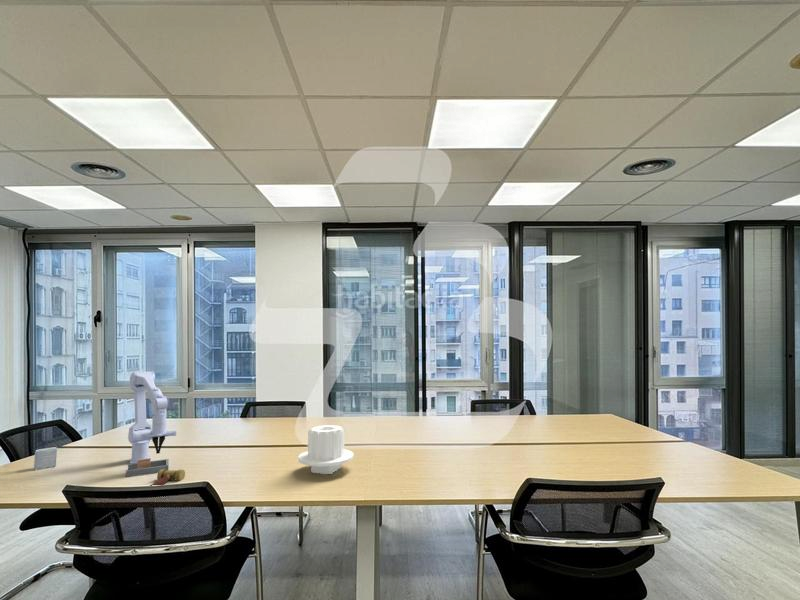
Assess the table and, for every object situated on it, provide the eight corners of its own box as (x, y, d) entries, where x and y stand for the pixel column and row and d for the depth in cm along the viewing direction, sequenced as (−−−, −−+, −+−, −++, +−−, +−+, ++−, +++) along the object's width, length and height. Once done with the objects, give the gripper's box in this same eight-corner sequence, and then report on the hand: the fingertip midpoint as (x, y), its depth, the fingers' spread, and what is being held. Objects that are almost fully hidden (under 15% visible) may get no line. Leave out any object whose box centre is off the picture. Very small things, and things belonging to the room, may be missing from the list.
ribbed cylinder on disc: (336, 482, 177) (337, 436, 178) (286, 476, 185) (287, 432, 187) (362, 465, 200) (362, 424, 202) (316, 460, 209) (317, 421, 210)
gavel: (155, 488, 163) (130, 488, 163) (155, 500, 163) (130, 500, 163) (185, 468, 184) (163, 467, 184) (185, 478, 184) (163, 478, 184)
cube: (137, 470, 195) (138, 459, 195) (150, 468, 197) (150, 457, 198) (136, 473, 190) (137, 462, 191) (149, 471, 193) (150, 460, 193)
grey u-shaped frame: (128, 469, 196) (128, 464, 196) (168, 464, 204) (168, 458, 204) (125, 477, 185) (126, 471, 186) (168, 471, 193) (168, 465, 194)
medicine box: (55, 464, 204) (56, 446, 205) (56, 466, 201) (57, 448, 202) (33, 468, 199) (34, 449, 199) (34, 470, 195) (35, 451, 196)
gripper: (140, 426, 191) (139, 457, 190) (176, 423, 198) (175, 452, 197) (141, 424, 197) (140, 453, 196) (176, 420, 204) (175, 449, 203)
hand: (158, 453), depth 197 cm, fingers closed
